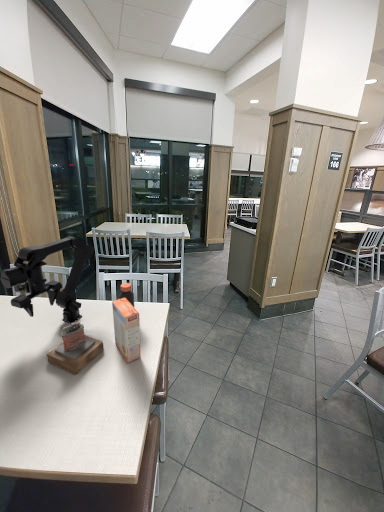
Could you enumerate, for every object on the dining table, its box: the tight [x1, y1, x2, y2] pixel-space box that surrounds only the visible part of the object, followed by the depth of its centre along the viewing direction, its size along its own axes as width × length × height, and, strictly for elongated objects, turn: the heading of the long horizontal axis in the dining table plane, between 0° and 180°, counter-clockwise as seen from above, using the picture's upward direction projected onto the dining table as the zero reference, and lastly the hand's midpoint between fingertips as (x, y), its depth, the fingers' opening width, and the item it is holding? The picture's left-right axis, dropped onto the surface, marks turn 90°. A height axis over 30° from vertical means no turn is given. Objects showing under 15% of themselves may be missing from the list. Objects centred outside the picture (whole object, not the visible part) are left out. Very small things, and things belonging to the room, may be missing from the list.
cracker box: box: [111, 298, 141, 364], centre depth 89 cm, size 14×6×21 cm, turn 37°
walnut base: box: [46, 334, 105, 376], centre depth 88 cm, size 14×14×5 cm
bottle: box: [118, 282, 135, 308], centre depth 108 cm, size 7×7×20 cm
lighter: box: [60, 320, 86, 352], centre depth 85 cm, size 8×3×10 cm, turn 143°
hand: (42, 310), depth 96 cm, fingers open, 9 cm apart
